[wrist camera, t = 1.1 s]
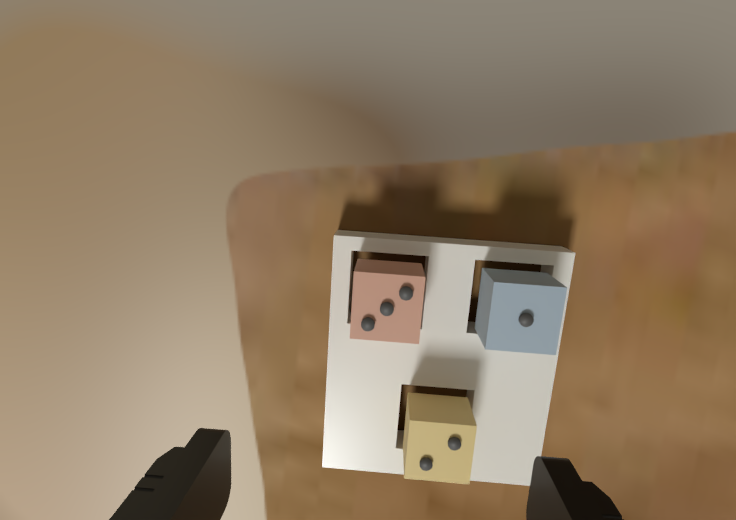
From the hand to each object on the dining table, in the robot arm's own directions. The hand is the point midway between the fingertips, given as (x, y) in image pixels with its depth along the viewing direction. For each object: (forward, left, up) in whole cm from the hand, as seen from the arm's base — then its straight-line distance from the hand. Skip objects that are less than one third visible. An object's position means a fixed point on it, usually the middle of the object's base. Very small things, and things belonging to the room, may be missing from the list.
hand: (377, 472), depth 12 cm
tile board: (-4, +4, -17) cm, 18 cm away
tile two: (-4, +7, -15) cm, 17 cm away
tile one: (-7, 0, -15) cm, 16 cm away
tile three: (0, -1, -15) cm, 15 cm away
